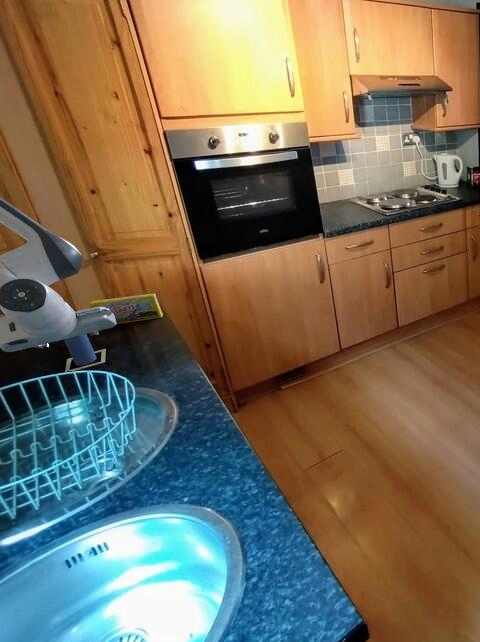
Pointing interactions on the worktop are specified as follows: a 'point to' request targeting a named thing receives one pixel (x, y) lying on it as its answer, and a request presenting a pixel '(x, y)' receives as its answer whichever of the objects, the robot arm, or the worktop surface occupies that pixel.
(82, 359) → the blue bottle
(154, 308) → the candy box
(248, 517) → the worktop surface
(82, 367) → the spot outline
